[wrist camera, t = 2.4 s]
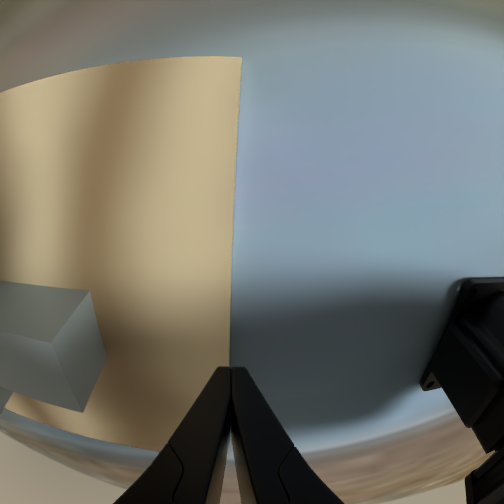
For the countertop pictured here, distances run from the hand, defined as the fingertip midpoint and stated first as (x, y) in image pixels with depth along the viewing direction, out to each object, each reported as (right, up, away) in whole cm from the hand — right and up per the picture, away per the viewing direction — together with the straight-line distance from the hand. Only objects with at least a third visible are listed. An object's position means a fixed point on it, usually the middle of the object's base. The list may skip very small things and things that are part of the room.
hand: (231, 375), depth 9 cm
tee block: (-10, +1, +1) cm, 10 cm away
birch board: (-11, +1, +2) cm, 11 cm away
